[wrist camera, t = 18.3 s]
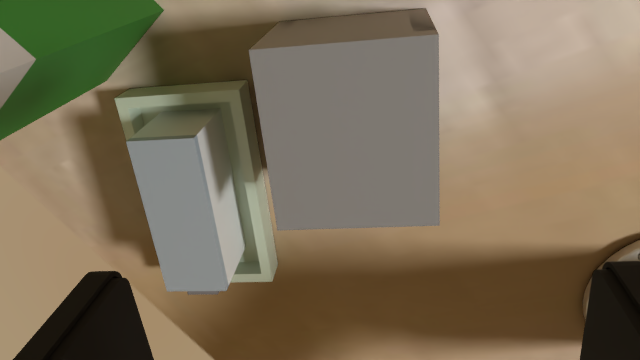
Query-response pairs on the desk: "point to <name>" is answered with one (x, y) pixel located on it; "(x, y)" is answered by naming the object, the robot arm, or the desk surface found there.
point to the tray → (243, 153)
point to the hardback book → (62, 51)
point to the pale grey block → (189, 199)
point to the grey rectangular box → (351, 120)
